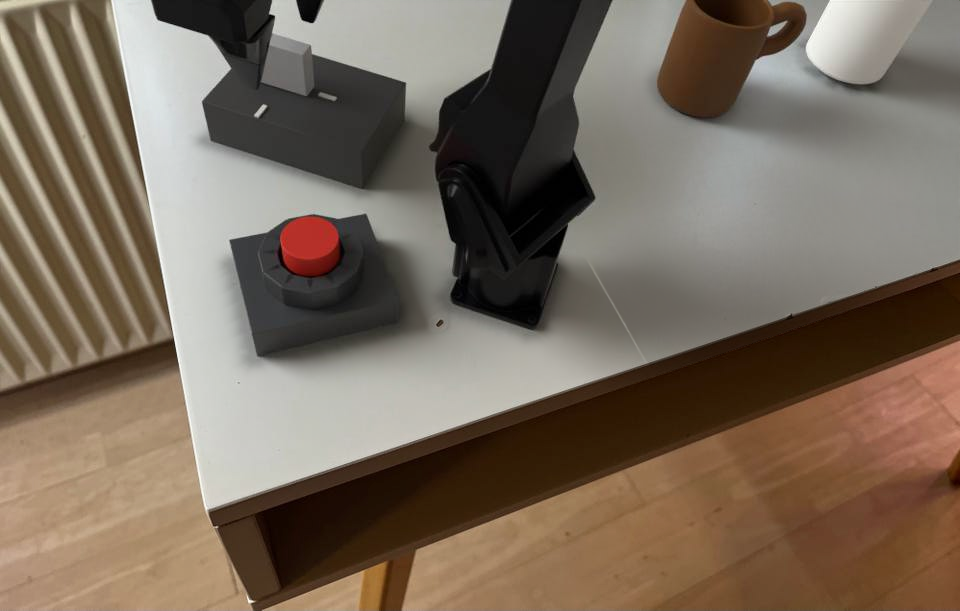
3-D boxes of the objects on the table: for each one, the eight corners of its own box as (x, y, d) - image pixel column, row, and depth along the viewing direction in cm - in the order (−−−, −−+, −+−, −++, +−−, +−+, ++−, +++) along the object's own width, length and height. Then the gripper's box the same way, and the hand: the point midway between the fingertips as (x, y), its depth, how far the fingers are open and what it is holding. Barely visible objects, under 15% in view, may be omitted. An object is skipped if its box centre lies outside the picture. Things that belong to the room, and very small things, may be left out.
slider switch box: (404, 121, 63) (406, 80, 60) (362, 190, 58) (361, 149, 54) (264, 77, 64) (258, 35, 61) (210, 141, 59) (200, 99, 56)
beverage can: (886, 96, 73) (964, -18, 64) (806, 79, 73) (871, -37, 64) (875, 49, 78) (945, -63, 69) (799, 33, 78) (859, -81, 69)
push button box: (366, 238, 55) (366, 195, 51) (398, 323, 51) (400, 283, 47) (234, 264, 52) (224, 221, 48) (257, 357, 48) (247, 317, 44)
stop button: (332, 229, 50) (330, 211, 48) (346, 270, 48) (345, 252, 46) (277, 240, 48) (274, 222, 47) (289, 282, 47) (287, 264, 45)
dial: (314, 86, 58) (311, 41, 55) (306, 97, 57) (302, 52, 54) (261, 70, 59) (254, 24, 55) (252, 80, 58) (245, 34, 55)
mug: (752, 64, 74) (795, -25, 66) (788, 114, 70) (838, 25, 62) (642, 71, 71) (674, -21, 64) (672, 123, 67) (710, 31, 59)
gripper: (211, -259, 49) (244, -35, 62) (23, -152, 38) (109, 94, 51) (366, -218, 48) (368, 1, 61) (219, -97, 37) (258, 141, 50)
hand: (281, 52), depth 56 cm, fingers open, 9 cm apart
